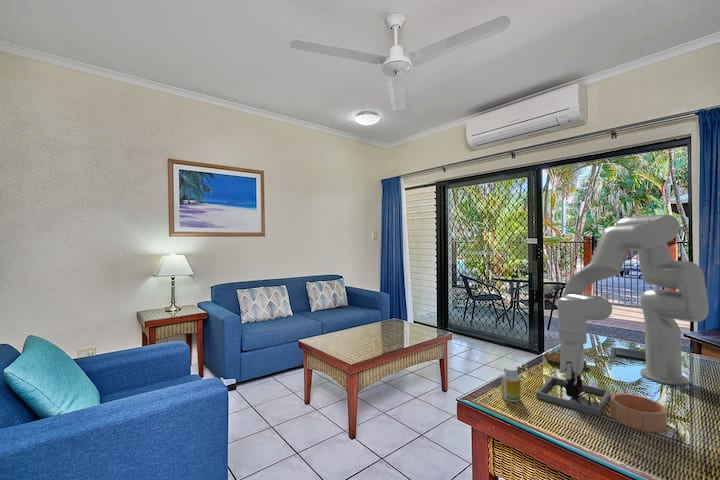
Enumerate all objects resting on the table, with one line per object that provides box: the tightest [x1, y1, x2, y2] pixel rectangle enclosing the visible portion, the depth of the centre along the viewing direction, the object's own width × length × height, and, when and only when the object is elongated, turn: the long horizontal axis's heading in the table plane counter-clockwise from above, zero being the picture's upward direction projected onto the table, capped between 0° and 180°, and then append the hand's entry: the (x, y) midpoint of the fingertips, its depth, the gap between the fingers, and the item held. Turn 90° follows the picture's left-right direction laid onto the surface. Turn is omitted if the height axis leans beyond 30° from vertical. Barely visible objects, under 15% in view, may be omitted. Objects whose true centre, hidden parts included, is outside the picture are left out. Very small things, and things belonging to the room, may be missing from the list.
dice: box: [577, 384, 583, 397], centre depth 105 cm, size 4×4×4 cm
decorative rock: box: [543, 351, 588, 372], centre depth 132 cm, size 11×4×15 cm
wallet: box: [609, 347, 646, 363], centre depth 140 cm, size 20×2×15 cm
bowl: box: [609, 392, 667, 434], centre depth 91 cm, size 12×12×5 cm
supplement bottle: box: [501, 365, 521, 403], centre depth 105 cm, size 5×5×10 cm
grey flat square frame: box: [535, 376, 611, 417], centre depth 105 cm, size 17×17×2 cm
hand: (574, 393), depth 105 cm, fingers closed on dice, 4 cm apart
